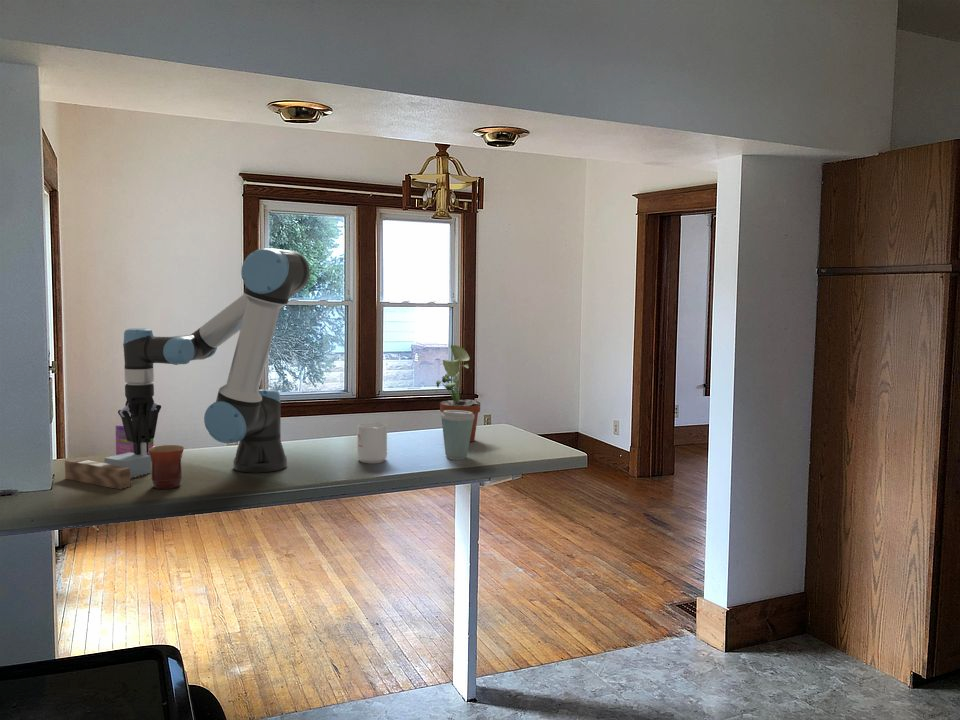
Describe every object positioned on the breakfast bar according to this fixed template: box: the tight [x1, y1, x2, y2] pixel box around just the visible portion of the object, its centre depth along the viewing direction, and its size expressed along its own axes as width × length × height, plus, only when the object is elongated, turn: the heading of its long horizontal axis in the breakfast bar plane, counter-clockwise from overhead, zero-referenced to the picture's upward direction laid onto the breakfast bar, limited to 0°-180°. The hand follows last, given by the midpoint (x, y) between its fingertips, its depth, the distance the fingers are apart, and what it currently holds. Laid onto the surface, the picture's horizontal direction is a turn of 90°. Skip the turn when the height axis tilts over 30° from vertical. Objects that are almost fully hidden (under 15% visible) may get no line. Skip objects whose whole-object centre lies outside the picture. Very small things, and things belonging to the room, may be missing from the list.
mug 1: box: [148, 444, 185, 490], centre depth 207 cm, size 12×9×10 cm
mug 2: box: [357, 421, 388, 464], centre depth 239 cm, size 12×9×11 cm
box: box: [115, 423, 155, 456], centre depth 233 cm, size 10×6×12 cm, turn 168°
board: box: [64, 458, 131, 490], centre depth 208 cm, size 22×3×5 cm, turn 63°
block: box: [103, 452, 152, 479], centre depth 218 cm, size 9×8×5 cm
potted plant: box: [435, 344, 481, 443], centre depth 268 cm, size 16×15×35 cm
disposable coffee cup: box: [440, 410, 475, 461], centre depth 243 cm, size 11×11×15 cm
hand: (141, 464), depth 222 cm, fingers closed
